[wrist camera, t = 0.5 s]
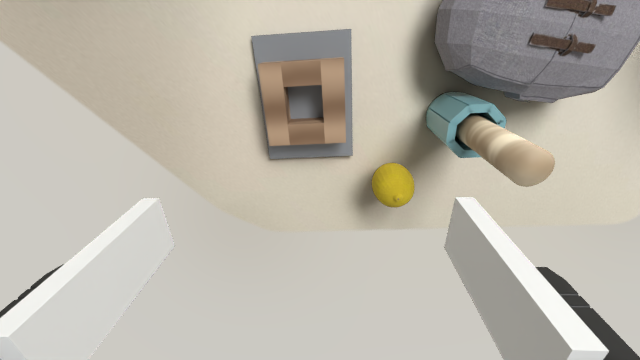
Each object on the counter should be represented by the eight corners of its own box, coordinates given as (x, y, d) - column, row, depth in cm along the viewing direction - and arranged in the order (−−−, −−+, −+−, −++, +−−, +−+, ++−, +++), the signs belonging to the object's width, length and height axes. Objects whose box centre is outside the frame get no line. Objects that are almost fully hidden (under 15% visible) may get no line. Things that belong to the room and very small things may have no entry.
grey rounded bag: (632, -36, 30) (451, -69, 30) (730, -61, 23) (490, -106, 22) (558, 105, 37) (409, 79, 36) (615, 121, 29) (429, 89, 29)
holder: (263, 62, 35) (257, 64, 33) (343, 57, 35) (344, 58, 32) (273, 138, 40) (269, 145, 37) (345, 135, 39) (345, 142, 36)
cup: (428, 92, 37) (451, 105, 30) (475, 90, 36) (510, 102, 29) (423, 137, 39) (443, 158, 32) (467, 135, 39) (498, 156, 32)
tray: (253, 36, 35) (251, 36, 34) (350, 29, 34) (351, 28, 33) (271, 156, 42) (269, 158, 41) (352, 153, 41) (352, 155, 40)
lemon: (367, 157, 41) (375, 181, 34) (406, 153, 41) (422, 177, 33) (369, 190, 44) (376, 219, 36) (406, 186, 43) (420, 216, 36)
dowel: (440, 104, 37) (515, 149, 21) (465, 103, 36) (560, 148, 21) (437, 128, 38) (506, 187, 23) (461, 127, 38) (547, 185, 23)
